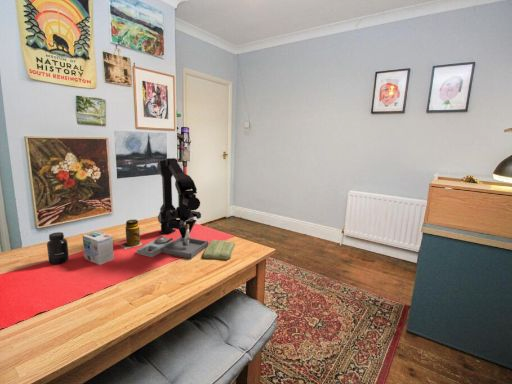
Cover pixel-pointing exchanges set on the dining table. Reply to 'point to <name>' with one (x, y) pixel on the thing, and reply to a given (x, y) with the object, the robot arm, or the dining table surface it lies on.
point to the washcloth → (219, 249)
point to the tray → (185, 248)
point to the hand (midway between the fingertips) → (185, 236)
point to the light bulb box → (98, 247)
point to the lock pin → (186, 238)
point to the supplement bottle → (57, 248)
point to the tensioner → (154, 246)
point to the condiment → (132, 235)
